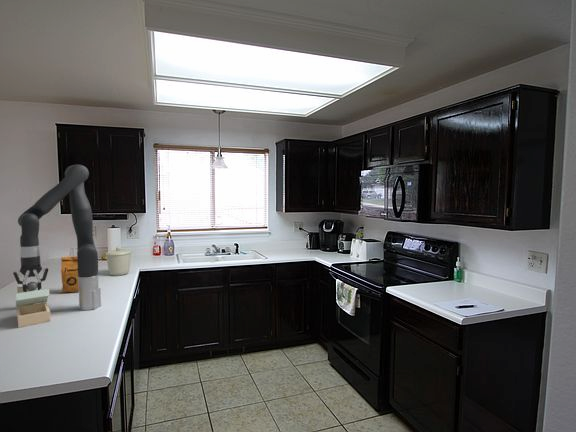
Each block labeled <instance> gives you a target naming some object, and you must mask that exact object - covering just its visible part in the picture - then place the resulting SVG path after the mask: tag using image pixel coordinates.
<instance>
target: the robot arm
mask: <svg viewBox="0 0 576 432" xmlns="http://www.w3.org/2000/svg"><path fill="white" fill-rule="evenodd" d="M89 175H90V171H89V170H88V168H87V167H86V166H84V165H82V164H73V165H70V166H68V167H66V169H65V171H64V177H63V178H62V180H61V181H60V182H58V183H57V184H56V185H55V186H54V187H52V188H50V189H49V190H48V191H47V192H46V193H44V194H43V195H42V196H41V197H40V198H39V199H37V201H35V203H34V204H32V206H30V207H29V208H27V209H26V210H25V211H24V212H22V213H21V214H20V215H19V217H18V219H17V224H18V225H19V226H20V227H21V235H20V237H19V245H20V249H19V256H20V269H19V270H17V271H16V270H15V271H13V272H12V274H13V276H14V278H15V279H14V280H15V281H16V282H17V284H18V285H23V291H25V292H27V288H26V284H27V282H28V281H27V280H28V278H32V277H33V278H34V277H35V279H36V281H37V282H36V283H37V284H38V287H37V290H42V282H43V281H44V282H45V281H46V279H47V277H48V273H49V268H48V267H42V265H41V249H40V242H39V240H40V239H39V232H40V220H41V219H42V217H44V216H45V215H48V214H49V213H50V212H51V211H52V210H53V209H54V208H55V207H56V206H57V205H58V204H59V203H60V202H61V201H62V200H63V199H65V197H66V196H67V195H68V194H69V205H70V213H71V221H72V225H73V229H74V232H75V235H76V242H77V243H76V245H77V248H76V249H77V251H76V255H77V263H78V288H79V292H78V308H79V310H81V311H89V310H96V309H98V308H99V307H101V306H102V299H101V298H102V297H101V295H102V293H101V288H100V287H99V254H98V250H97V248H96V245H95V241H94V237H93V225H94V222H93V219H94V218H93V211H92V207H91V204H90V201H89V199H88V197H87V195H86V189H85V181H87V180H88V178H89ZM41 271H42V273H43V274H42V278H40V276H39V274H40V272H41ZM20 273H21V274H22V275H23V279H22V280H21V279H20V277H19V276H20Z"/></svg>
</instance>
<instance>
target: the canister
mask: <svg viewBox="0 0 576 432" xmlns="http://www.w3.org/2000/svg"><path fill="white" fill-rule="evenodd" d="M132 253H133V251H131V250H129V249H122V247H121V246H116V248H115V249H114V250H109V251H107V252H105V256H106V262H107V264H106V265H107V269H108V273H109V274H110V275H111V276H115V277H117V276H125V275H127V274H129V273H130V269H131V260H132Z"/></svg>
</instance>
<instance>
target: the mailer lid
mask: <svg viewBox="0 0 576 432" xmlns="http://www.w3.org/2000/svg"><path fill="white" fill-rule="evenodd" d="M26 284H27V286H26V288H27V290H29V291H30V292H23V293H15V307H16V308H17V307H18V306H24V305H30V304H38V303H44V302H47V303H48V298H49V296H51V295H50V289H49V288H45V289H40V290H38V284H37V282H36V281H30V282H28V283H26Z"/></svg>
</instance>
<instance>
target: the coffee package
mask: <svg viewBox="0 0 576 432" xmlns="http://www.w3.org/2000/svg"><path fill="white" fill-rule="evenodd" d="M60 259H61V260H60V261H61V263H60V264H61V267H60V268H61V270H60V272H61V284H62V286H61V287H62V288H61V292H62V293H66V294H67V293H79V288H78V263H77V256H61V258H60Z"/></svg>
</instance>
